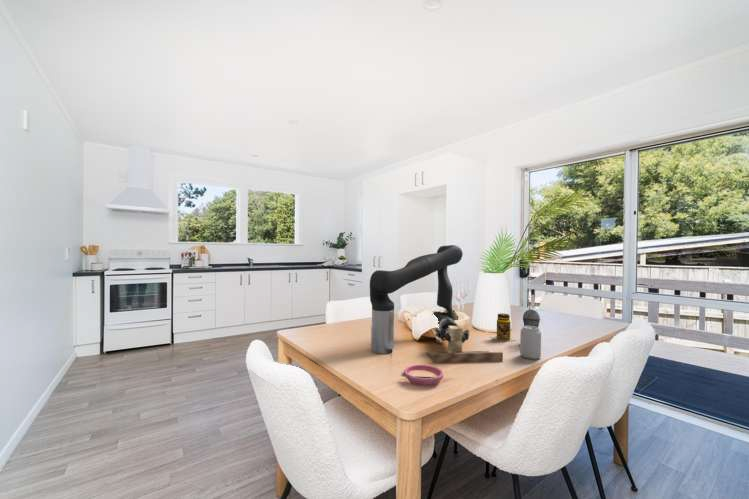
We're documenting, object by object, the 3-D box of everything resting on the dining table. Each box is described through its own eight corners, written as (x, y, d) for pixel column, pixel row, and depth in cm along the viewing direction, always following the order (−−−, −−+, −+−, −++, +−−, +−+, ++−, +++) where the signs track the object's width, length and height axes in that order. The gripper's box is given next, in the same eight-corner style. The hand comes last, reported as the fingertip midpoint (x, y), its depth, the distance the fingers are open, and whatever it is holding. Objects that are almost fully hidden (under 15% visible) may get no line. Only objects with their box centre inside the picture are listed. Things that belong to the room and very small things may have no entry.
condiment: (503, 342, 151) (503, 316, 151) (489, 337, 159) (490, 312, 159) (514, 340, 154) (515, 315, 154) (501, 336, 162) (501, 311, 162)
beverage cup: (542, 346, 145) (543, 301, 145) (526, 346, 145) (527, 301, 145) (535, 341, 152) (535, 298, 152) (519, 341, 152) (520, 298, 152)
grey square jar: (544, 360, 126) (545, 329, 126) (525, 359, 127) (525, 329, 127) (535, 354, 134) (535, 324, 134) (517, 353, 134) (517, 324, 134)
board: (434, 367, 117) (434, 354, 117) (425, 356, 129) (425, 344, 129) (502, 365, 120) (502, 352, 120) (487, 354, 132) (487, 343, 132)
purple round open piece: (396, 381, 105) (396, 371, 105) (417, 370, 114) (417, 361, 114) (430, 392, 97) (430, 382, 97) (449, 380, 106) (449, 370, 106)
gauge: (451, 357, 120) (451, 330, 120) (448, 351, 127) (448, 325, 127) (463, 357, 120) (463, 330, 120) (459, 351, 127) (459, 326, 127)
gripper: (432, 319, 139) (437, 329, 122) (465, 320, 138) (476, 330, 121) (431, 336, 139) (437, 349, 122) (465, 337, 139) (475, 350, 121)
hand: (456, 339), depth 122 cm, fingers closed on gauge, 4 cm apart
